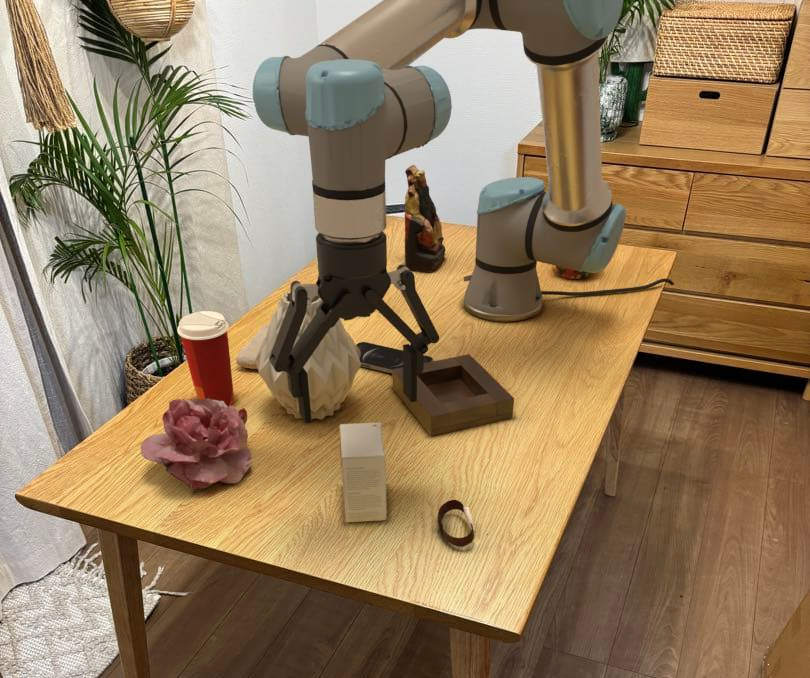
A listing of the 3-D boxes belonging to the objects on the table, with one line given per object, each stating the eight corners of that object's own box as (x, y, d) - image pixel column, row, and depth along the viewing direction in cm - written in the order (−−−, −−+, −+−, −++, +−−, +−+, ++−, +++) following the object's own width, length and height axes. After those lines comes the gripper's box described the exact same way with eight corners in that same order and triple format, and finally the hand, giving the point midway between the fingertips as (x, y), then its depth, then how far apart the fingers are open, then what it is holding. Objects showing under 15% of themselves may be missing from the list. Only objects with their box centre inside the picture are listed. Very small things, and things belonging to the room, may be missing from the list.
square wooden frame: (468, 372, 135) (469, 353, 133) (512, 417, 124) (514, 398, 122) (392, 388, 131) (392, 369, 129) (430, 436, 120) (431, 416, 118)
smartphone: (361, 340, 143) (435, 357, 137) (361, 345, 143) (435, 362, 138) (339, 357, 138) (415, 375, 132) (339, 362, 138) (415, 380, 133)
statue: (431, 275, 168) (433, 175, 155) (398, 269, 171) (396, 170, 158) (453, 256, 176) (457, 160, 163) (421, 250, 179) (422, 155, 166)
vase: (250, 394, 130) (234, 285, 118) (344, 375, 135) (337, 268, 123) (278, 444, 118) (263, 329, 106) (379, 421, 123) (376, 308, 111)
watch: (481, 547, 100) (483, 525, 98) (445, 553, 99) (446, 530, 97) (465, 511, 106) (466, 489, 103) (431, 515, 105) (431, 493, 103)
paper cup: (248, 394, 130) (236, 313, 121) (225, 417, 124) (211, 334, 115) (207, 386, 132) (191, 306, 123) (182, 409, 126) (164, 327, 117)
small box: (343, 487, 110) (338, 422, 103) (383, 485, 110) (381, 420, 103) (344, 523, 104) (340, 457, 97) (387, 521, 104) (385, 454, 97)
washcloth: (336, 334, 147) (335, 318, 145) (300, 379, 134) (298, 363, 132) (277, 326, 149) (275, 311, 147) (236, 370, 136) (233, 354, 134)
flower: (119, 468, 109) (126, 408, 103) (180, 427, 120) (190, 370, 114) (212, 516, 107) (225, 458, 101) (265, 470, 119) (279, 415, 113)
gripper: (443, 207, 90) (439, 375, 103) (226, 235, 83) (252, 412, 96) (472, 227, 85) (463, 402, 98) (243, 260, 77) (267, 443, 91)
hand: (358, 407), depth 97 cm, fingers open, 13 cm apart
